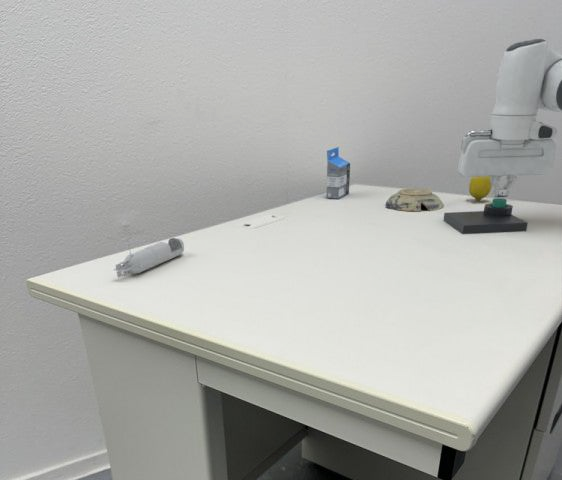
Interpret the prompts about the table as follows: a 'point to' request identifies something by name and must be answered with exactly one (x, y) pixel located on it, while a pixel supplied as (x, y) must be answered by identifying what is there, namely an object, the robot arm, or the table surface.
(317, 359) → the table surface
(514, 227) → the dark grey button base
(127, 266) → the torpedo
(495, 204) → the scale button
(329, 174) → the ink cartridge box
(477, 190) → the lemon
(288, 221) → the table surface
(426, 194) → the decorative bowl
